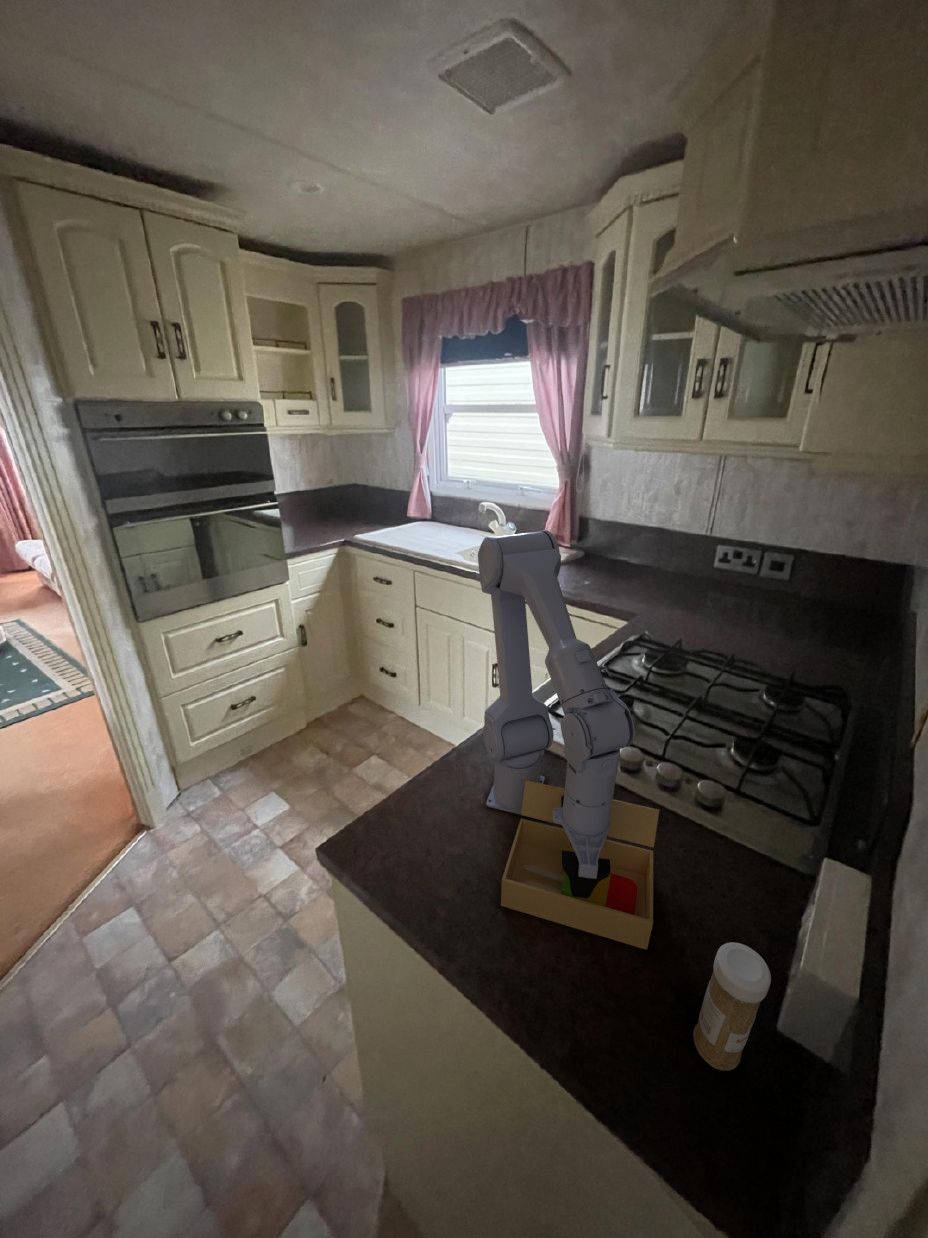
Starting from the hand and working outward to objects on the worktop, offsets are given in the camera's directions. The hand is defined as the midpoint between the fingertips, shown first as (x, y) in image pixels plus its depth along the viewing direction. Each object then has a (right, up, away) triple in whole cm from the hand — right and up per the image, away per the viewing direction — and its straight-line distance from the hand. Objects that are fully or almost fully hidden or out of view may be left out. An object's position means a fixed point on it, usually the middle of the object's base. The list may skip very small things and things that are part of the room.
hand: (579, 868), depth 68 cm
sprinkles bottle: (+11, -11, -14) cm, 21 cm away
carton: (0, -4, +2) cm, 4 cm away
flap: (+2, +6, +4) cm, 7 cm away
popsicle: (0, -4, +2) cm, 4 cm away
